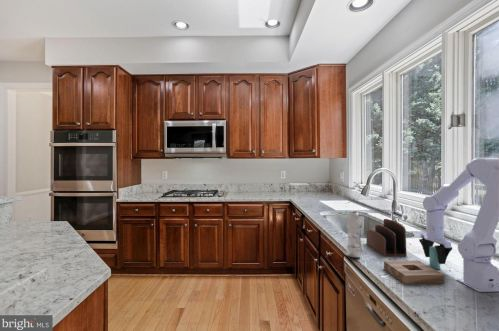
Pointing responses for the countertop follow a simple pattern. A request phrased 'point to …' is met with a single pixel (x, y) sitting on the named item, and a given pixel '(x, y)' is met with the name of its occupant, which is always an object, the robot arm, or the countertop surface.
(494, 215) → the robot arm
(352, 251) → the plastic bottle
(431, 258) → the peg
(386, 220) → the letter holder
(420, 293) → the countertop surface
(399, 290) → the countertop surface
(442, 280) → the socket block
